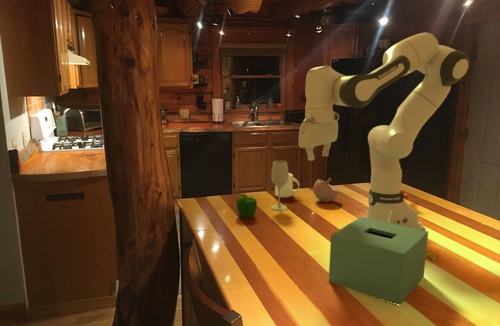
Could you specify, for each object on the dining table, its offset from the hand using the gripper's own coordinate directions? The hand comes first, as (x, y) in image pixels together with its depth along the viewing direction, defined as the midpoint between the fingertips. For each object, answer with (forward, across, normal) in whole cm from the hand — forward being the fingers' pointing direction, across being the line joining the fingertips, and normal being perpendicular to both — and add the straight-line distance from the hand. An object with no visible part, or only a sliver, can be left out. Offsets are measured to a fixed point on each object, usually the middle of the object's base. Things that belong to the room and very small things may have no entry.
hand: (318, 158), depth 135 cm
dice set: (+32, +13, -33) cm, 48 cm away
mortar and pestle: (+31, +47, +22) cm, 61 cm away
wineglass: (+30, +25, +34) cm, 51 cm away
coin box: (+31, -12, -26) cm, 42 cm away
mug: (+30, +44, +42) cm, 68 cm away
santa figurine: (+32, +68, -2) cm, 75 cm away
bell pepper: (+30, +6, +37) cm, 48 cm away
